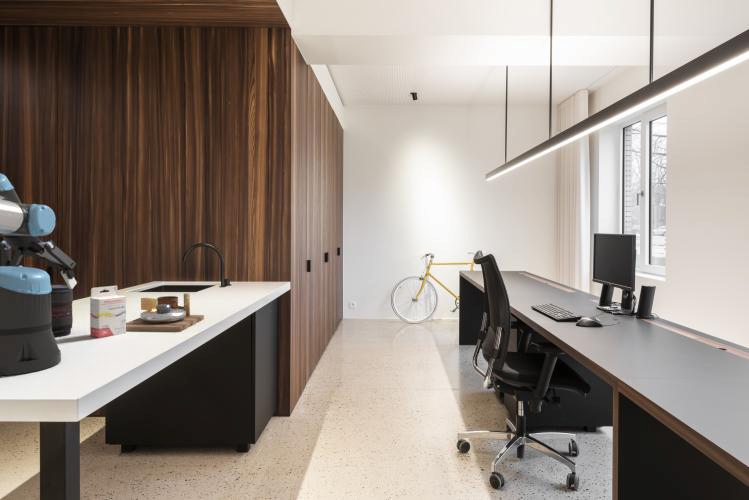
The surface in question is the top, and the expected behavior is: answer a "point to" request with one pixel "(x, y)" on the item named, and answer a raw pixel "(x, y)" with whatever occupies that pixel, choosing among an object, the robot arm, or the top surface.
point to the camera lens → (61, 310)
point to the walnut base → (167, 326)
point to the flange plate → (163, 316)
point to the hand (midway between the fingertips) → (50, 285)
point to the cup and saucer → (169, 302)
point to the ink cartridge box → (107, 312)
